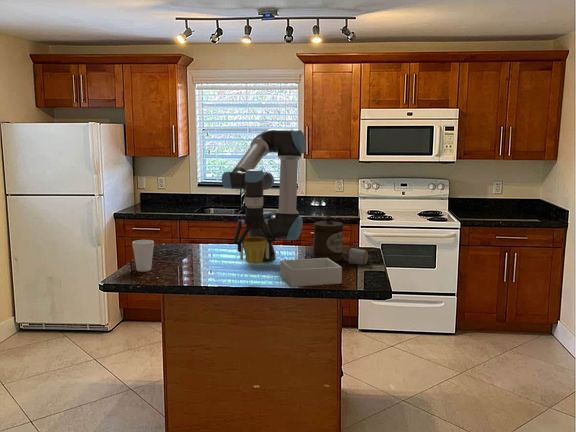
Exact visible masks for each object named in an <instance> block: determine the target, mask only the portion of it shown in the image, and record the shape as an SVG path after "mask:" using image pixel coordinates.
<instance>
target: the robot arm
mask: <svg viewBox="0 0 576 432" xmlns="http://www.w3.org/2000/svg"><path fill="white" fill-rule="evenodd" d="M306 148H307V143H306V137H305V134H304V132H303V131H302V130H301V129H298V128H271V129H270V128H269V129H266V130H264V131H262V132H261V133H260V134H258V135H257V136H255V137H254V138H253V139H252V141H251V142H250V145H249V148H248V149H247V151H246V152H245V153H244V154H243V156H242V157H241V159H240V160H239V161H238V162H237V164H236V165H235V167H234V168H233V169H232V171H231V170H228V171H224V172H223V174H222V176H221V183H222V186H223V188H225V189H229V190H230V189H231V190H244V194H245V195H244V197H245V198H244V199H245V201H244V206H245V207H244V209H245V210H244V212H245V217H244V219H237V227H236V230H235V233H234V237H233V243H234V244H237V252H239V259H240V260H241V261H243V260H244V248H243V244H242V242H243V240H244V238H247V237H246V236H247V235H248V237H263V238H266V239H267V247H266V248H265V252H264V257H263V261H262V262H269V261H273V260H275V259H276V251H275V247H274V245H273V242H276V240H285V241H296V240H297V239H299V237H300V235H301V233H302V231H303V230H302V229H303V225H304V224H303V223H304V222H303V217H301V216H300V211H298V210H297V198H298V197H297V196H298V194H297V193H298V170H299V160H301V159H302V155H303V154H305V152H306ZM269 153H275V154H277V157H278V159H280V164H279V167H280V169H279V191H278V192H279V193H278V194H279V195H278V209H277V210H276V211H275V215H274V214H273V212H272V211H264V207H263V206H264V191H266V190H269V189H270V188H272V187H273V186H274V183H275V178H274V175H273V174H272V173H270V172H268V171H263V170H262V169H259V168H258V169H256V167H257V166H258V164H259V163H260V162H261V160H262V159H263V157H266V156H267V155H268V154H269ZM244 224H245V225H246V226H245V228H244V230H243V232H242V233H241V229H242V228H243V227H242V226H243V225H244ZM239 236H240V237H239Z"/></svg>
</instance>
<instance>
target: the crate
mask: <svg viewBox="0 0 576 432" xmlns="http://www.w3.org/2000/svg"><path fill="white" fill-rule="evenodd" d="M279 266H280V267H279V269H280V271H279V274H280V275H279V276H280V278H282V279H283V280H284V281H285V282H286V283H287V284H288V285H289V286H290V287H302V286H303V287H305V286H306V287H307V286H308V287H309V286H323V285H324V284H325V285H337V284H338V285H339V284H342V283H343V282H342V280H343V279H342V278H343V276H342V275H343V273H342V272H343V267H342V266H341V265H340V264H338V263H336V261H335V262H333V261H332V260H330V259H328V258H317V259H313V258H302V259H296V258H295V259H281V260H280V263H279Z"/></svg>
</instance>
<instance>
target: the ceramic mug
mask: <svg viewBox="0 0 576 432" xmlns="http://www.w3.org/2000/svg"><path fill="white" fill-rule="evenodd" d="M368 261H369V252H368V251H367V250H365V249H359V248H353V247H351V248H350V250H349V252H348V263H349V264H351V265H359V266H365V265H366V264H367V263H368Z"/></svg>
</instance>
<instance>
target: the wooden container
mask: <svg viewBox="0 0 576 432" xmlns="http://www.w3.org/2000/svg"><path fill="white" fill-rule="evenodd" d="M324 219H325V220H322V221H316V222H314V223H313V238H312V239H313V240H312V241H313V242H312V259H317V258H328V259H330V260H332V261H333V262H335V263H336V262H340V261H342V260H343V246H344V245H343V241H344V240H343V239H344V238H343V236H344V235H343V234H344V233H343V231H344V223H343V222H339V221H333V220H332V219H333V218H332V216H330V215H326V216H325V217H324Z"/></svg>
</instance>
